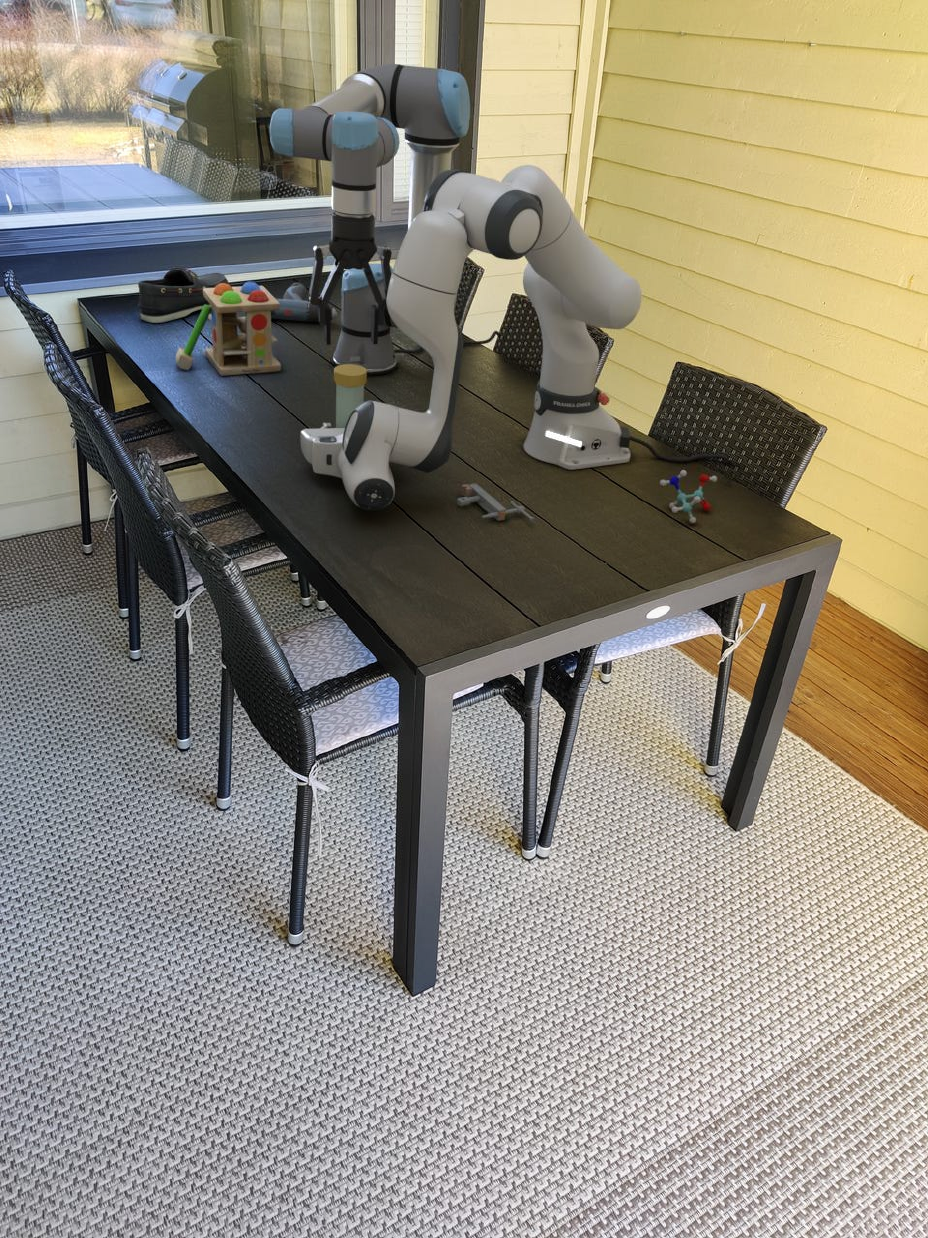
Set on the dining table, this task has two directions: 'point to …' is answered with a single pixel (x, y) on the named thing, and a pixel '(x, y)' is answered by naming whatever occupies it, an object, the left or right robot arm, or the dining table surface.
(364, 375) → the lid
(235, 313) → the pounding bench toy
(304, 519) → the dining table surface
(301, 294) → the power drill
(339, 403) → the jar
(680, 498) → the molecular model
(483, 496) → the clamp
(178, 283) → the boat shoe
